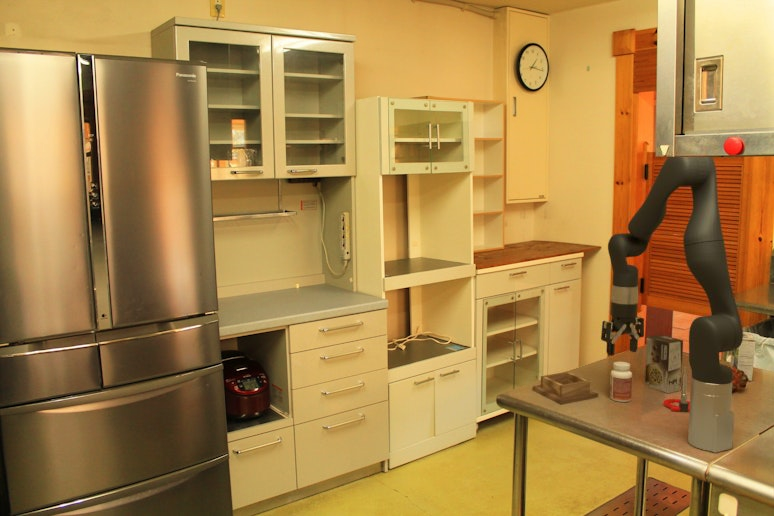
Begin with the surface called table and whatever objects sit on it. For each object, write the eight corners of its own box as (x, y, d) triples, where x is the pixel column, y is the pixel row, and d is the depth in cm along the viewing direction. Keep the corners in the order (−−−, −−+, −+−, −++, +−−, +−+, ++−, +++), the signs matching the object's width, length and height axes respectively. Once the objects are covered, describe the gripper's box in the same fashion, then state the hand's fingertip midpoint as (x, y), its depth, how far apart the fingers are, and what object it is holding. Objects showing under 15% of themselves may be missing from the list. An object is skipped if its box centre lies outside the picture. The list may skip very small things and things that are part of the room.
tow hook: (660, 401, 197) (668, 412, 187) (661, 359, 195) (670, 367, 186) (689, 403, 195) (699, 413, 186) (691, 360, 194) (701, 369, 185)
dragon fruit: (751, 398, 201) (707, 398, 206) (748, 376, 207) (706, 376, 212) (749, 382, 196) (705, 382, 201) (746, 359, 202) (703, 360, 207)
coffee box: (681, 390, 205) (684, 340, 202) (667, 393, 202) (669, 343, 199) (658, 382, 213) (660, 333, 210) (643, 385, 210) (646, 336, 208)
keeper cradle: (598, 397, 200) (598, 382, 199) (560, 404, 194) (561, 389, 193) (568, 383, 212) (568, 369, 212) (532, 390, 207) (532, 375, 206)
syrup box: (729, 374, 219) (731, 332, 217) (748, 376, 217) (751, 333, 215) (733, 380, 213) (735, 336, 211) (753, 381, 212) (756, 337, 210)
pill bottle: (635, 401, 196) (637, 365, 194) (619, 404, 194) (620, 367, 192) (622, 394, 202) (623, 359, 200) (605, 397, 200) (606, 362, 198)
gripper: (614, 305, 187) (612, 359, 190) (652, 300, 193) (649, 353, 195) (596, 300, 194) (594, 353, 197) (633, 295, 200) (631, 347, 202)
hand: (621, 353), depth 196 cm, fingers open, 8 cm apart
